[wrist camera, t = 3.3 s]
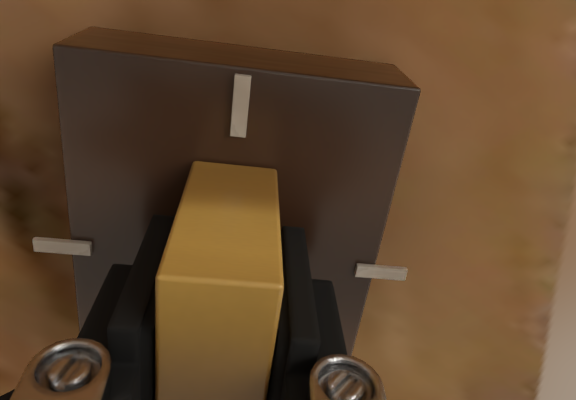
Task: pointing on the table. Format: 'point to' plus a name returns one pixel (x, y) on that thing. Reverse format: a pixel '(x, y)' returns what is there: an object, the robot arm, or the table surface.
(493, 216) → the table surface
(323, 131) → the plate
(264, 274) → the lock knob
